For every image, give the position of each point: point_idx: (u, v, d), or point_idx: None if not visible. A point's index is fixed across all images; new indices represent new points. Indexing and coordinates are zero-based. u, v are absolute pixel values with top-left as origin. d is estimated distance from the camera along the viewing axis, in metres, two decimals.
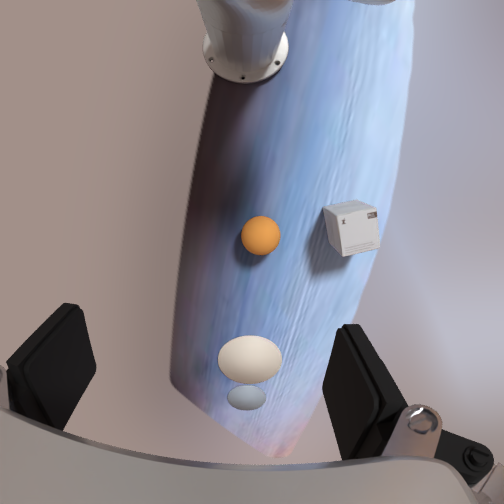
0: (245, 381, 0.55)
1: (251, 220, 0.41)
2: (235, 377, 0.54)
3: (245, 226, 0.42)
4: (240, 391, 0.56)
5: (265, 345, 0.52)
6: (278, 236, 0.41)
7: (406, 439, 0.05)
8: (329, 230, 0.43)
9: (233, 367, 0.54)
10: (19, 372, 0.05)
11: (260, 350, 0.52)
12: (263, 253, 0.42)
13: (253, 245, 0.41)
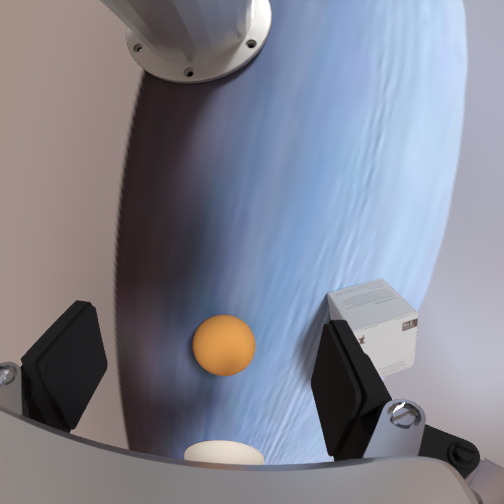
0: None
1: (206, 326, 0.24)
2: None
3: (197, 335, 0.24)
4: None
5: (241, 449, 0.35)
6: (251, 352, 0.24)
7: (389, 434, 0.05)
8: None
9: None
10: (34, 369, 0.06)
11: (235, 453, 0.35)
12: (227, 375, 0.25)
13: (209, 368, 0.23)
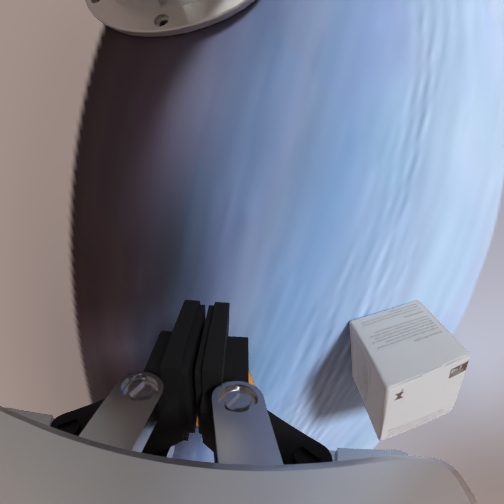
0: None
1: None
2: None
3: None
4: None
5: None
6: None
7: (232, 422, 0.06)
8: (358, 371, 0.19)
9: None
10: (177, 375, 0.07)
11: None
12: None
13: None
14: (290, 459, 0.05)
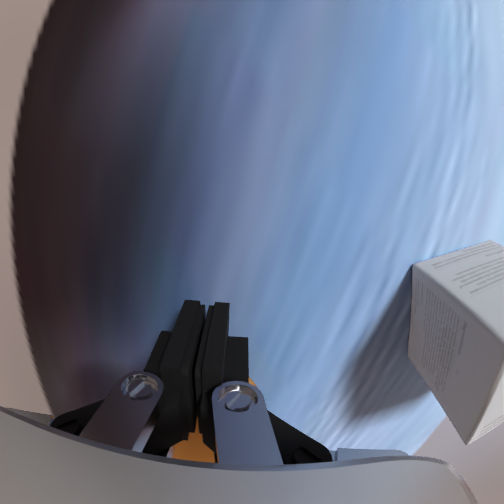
0: None
1: None
2: None
3: None
4: None
5: None
6: None
7: (232, 422, 0.06)
8: (428, 342, 0.12)
9: None
10: (177, 375, 0.07)
11: None
12: None
13: None
14: (290, 459, 0.05)
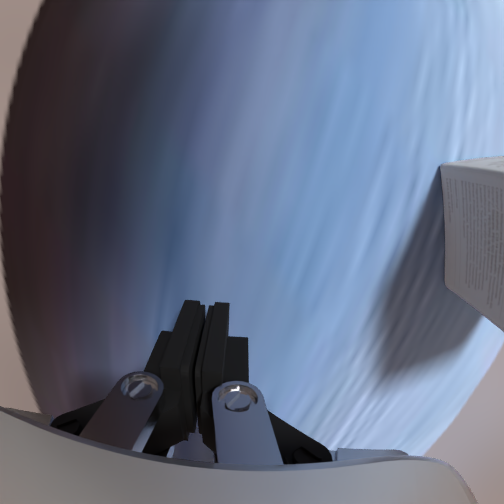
0: None
1: None
2: None
3: None
4: None
5: None
6: None
7: (232, 422, 0.06)
8: (472, 249, 0.09)
9: None
10: (177, 375, 0.07)
11: None
12: None
13: None
14: (290, 459, 0.05)
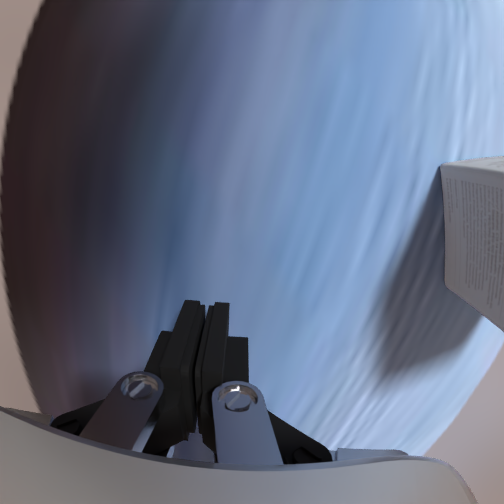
0: None
1: None
2: None
3: None
4: None
5: None
6: None
7: (232, 422, 0.06)
8: (472, 249, 0.09)
9: None
10: (177, 375, 0.07)
11: None
12: None
13: None
14: (290, 459, 0.05)
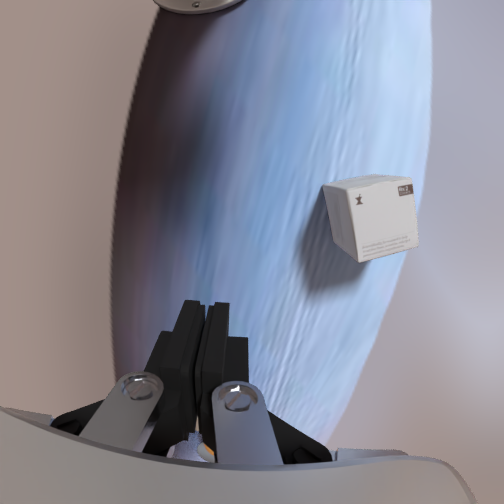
0: None
1: None
2: None
3: None
4: None
5: None
6: None
7: (232, 422, 0.06)
8: (334, 220, 0.26)
9: None
10: (177, 375, 0.07)
11: None
12: None
13: None
14: (290, 459, 0.05)
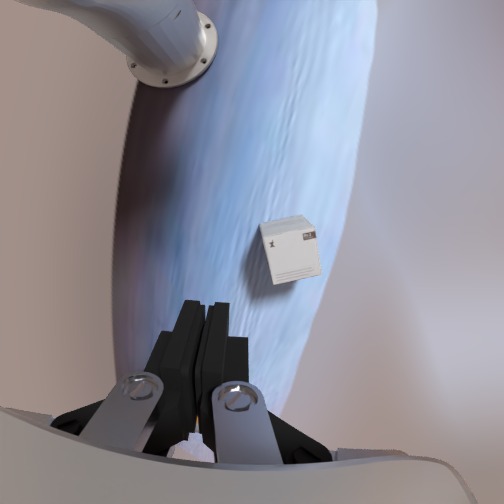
0: None
1: None
2: None
3: None
4: None
5: None
6: None
7: (232, 422, 0.06)
8: None
9: None
10: (177, 375, 0.07)
11: None
12: None
13: None
14: (290, 459, 0.05)
